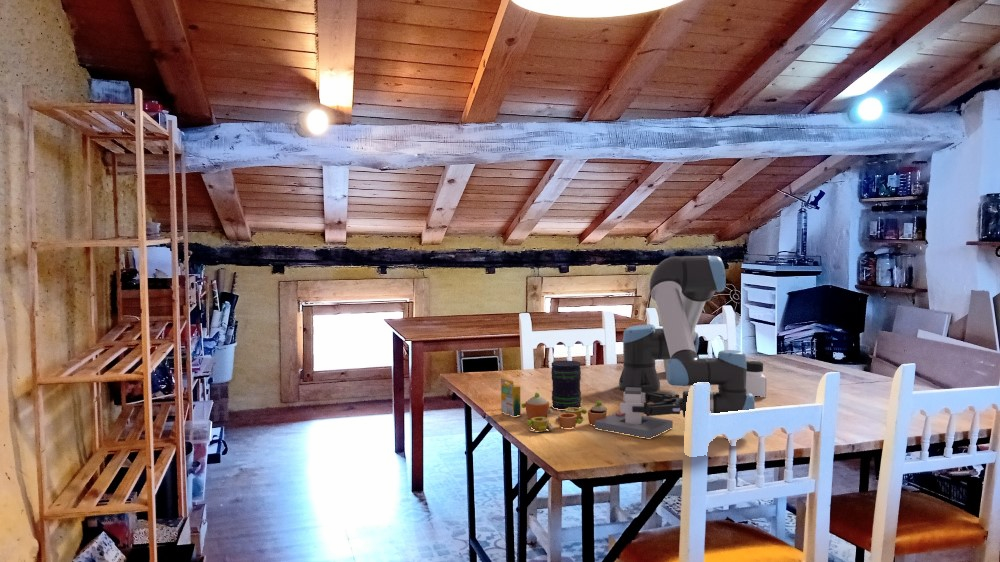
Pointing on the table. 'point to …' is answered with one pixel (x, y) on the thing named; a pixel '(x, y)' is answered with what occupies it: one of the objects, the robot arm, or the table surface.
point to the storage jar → (566, 384)
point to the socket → (645, 429)
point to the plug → (633, 397)
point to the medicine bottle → (755, 378)
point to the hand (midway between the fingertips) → (621, 402)
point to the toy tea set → (540, 409)
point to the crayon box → (510, 398)
